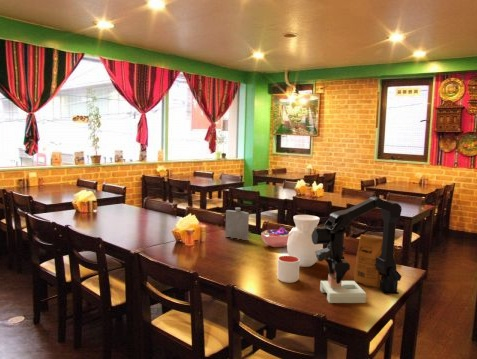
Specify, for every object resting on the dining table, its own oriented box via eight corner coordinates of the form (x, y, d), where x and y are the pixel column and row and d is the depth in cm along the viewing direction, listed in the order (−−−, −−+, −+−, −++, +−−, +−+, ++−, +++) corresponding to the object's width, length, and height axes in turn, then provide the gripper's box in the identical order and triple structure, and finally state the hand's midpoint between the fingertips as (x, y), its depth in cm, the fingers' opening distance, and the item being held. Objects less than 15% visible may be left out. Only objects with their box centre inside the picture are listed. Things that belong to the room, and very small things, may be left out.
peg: (337, 293, 173) (338, 273, 172) (340, 298, 169) (341, 277, 168) (327, 293, 173) (328, 273, 172) (330, 298, 169) (331, 277, 168)
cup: (296, 276, 194) (297, 255, 193) (300, 283, 184) (301, 262, 183) (275, 275, 193) (276, 255, 192) (278, 283, 184) (279, 262, 182)
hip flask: (224, 237, 261) (225, 206, 259) (227, 236, 265) (228, 205, 263) (246, 241, 254) (247, 209, 252) (249, 239, 258) (250, 208, 255)
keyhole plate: (353, 289, 179) (354, 280, 178) (365, 302, 165) (366, 293, 164) (320, 289, 178) (320, 280, 177) (329, 302, 164) (329, 293, 163)
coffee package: (359, 276, 196) (362, 231, 193) (385, 283, 188) (388, 236, 185) (350, 281, 188) (353, 235, 186) (376, 288, 180) (380, 240, 178)
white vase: (321, 271, 201) (324, 222, 199) (284, 267, 205) (286, 219, 202) (321, 260, 220) (324, 214, 217) (287, 257, 223) (289, 212, 220)
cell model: (255, 244, 248) (256, 226, 247) (283, 241, 256) (284, 223, 255) (269, 251, 233) (269, 232, 231) (298, 248, 241) (299, 229, 240)
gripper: (311, 237, 177) (310, 271, 179) (323, 249, 158) (321, 287, 160) (336, 237, 178) (334, 271, 180) (351, 249, 159) (349, 287, 161)
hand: (334, 279), depth 170 cm, fingers open, 9 cm apart
